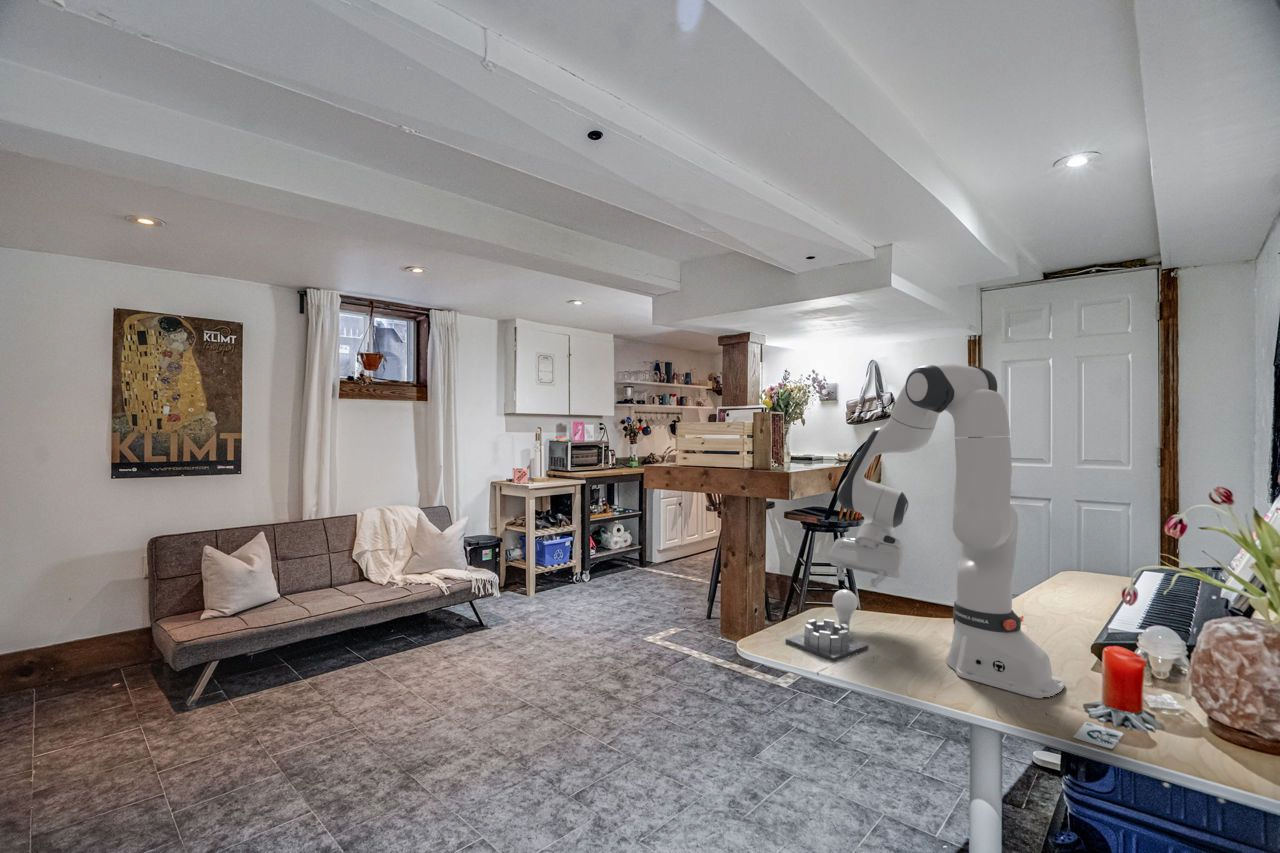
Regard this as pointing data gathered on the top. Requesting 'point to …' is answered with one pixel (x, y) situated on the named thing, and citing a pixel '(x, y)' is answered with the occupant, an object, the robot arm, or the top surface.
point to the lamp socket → (827, 640)
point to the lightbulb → (844, 605)
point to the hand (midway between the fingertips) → (856, 582)
